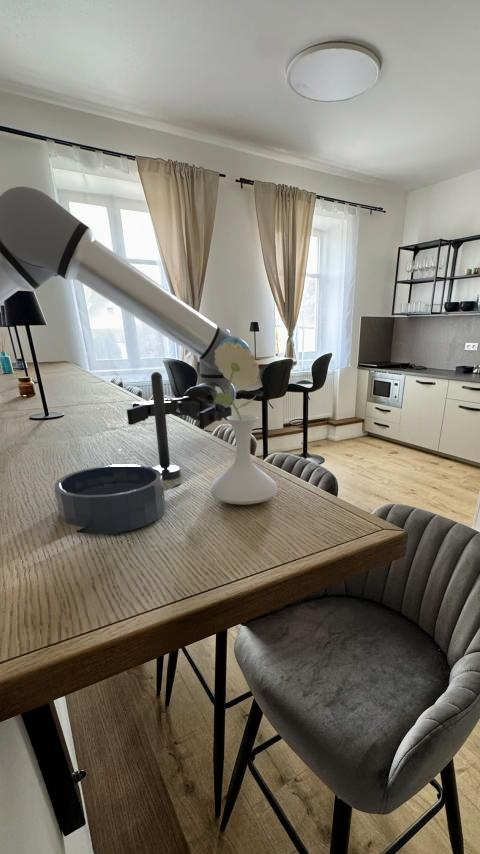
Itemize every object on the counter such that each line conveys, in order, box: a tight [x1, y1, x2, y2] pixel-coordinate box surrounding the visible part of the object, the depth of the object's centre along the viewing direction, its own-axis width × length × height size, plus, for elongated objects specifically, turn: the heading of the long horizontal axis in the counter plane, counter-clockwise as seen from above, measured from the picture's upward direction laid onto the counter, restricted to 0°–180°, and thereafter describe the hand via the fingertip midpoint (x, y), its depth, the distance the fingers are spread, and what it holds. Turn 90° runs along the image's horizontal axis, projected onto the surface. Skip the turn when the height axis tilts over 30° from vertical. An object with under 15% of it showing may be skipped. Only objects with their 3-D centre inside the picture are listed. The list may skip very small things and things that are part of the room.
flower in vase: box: [209, 342, 278, 506], centre depth 66 cm, size 13×11×25 cm
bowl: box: [53, 464, 166, 535], centre depth 61 cm, size 15×15×6 cm
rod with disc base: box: [150, 371, 181, 489], centre depth 73 cm, size 5×5×20 cm
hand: (164, 418), depth 74 cm, fingers open, 13 cm apart
